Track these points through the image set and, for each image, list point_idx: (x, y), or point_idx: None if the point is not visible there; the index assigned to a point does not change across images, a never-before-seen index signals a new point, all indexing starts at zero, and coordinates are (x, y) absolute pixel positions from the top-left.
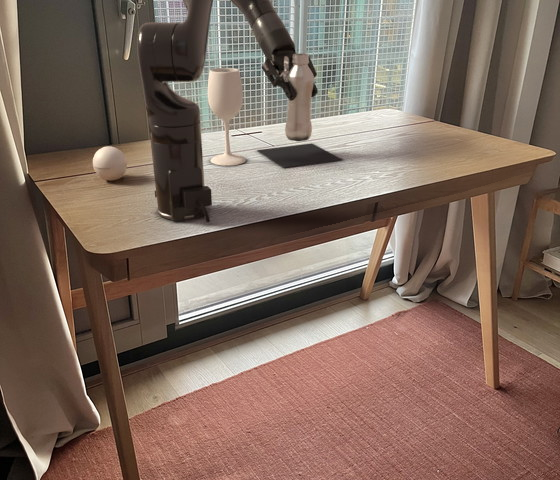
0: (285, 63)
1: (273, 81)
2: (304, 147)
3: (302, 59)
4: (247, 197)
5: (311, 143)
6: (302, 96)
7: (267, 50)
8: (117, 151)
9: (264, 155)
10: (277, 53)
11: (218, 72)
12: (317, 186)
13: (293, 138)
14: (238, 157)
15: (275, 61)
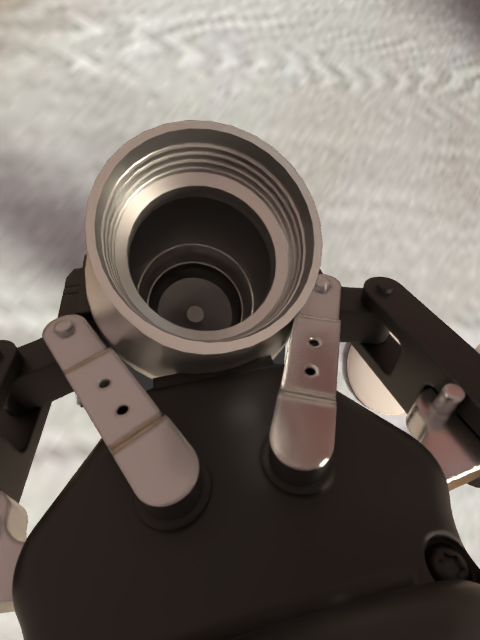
0: (319, 385)
1: (385, 342)
2: (132, 374)
3: (236, 156)
4: (460, 98)
5: (82, 406)
6: (217, 234)
7: None
8: None
9: (283, 362)
10: (403, 564)
11: None
12: (292, 67)
13: (230, 288)
14: None
15: (418, 442)
